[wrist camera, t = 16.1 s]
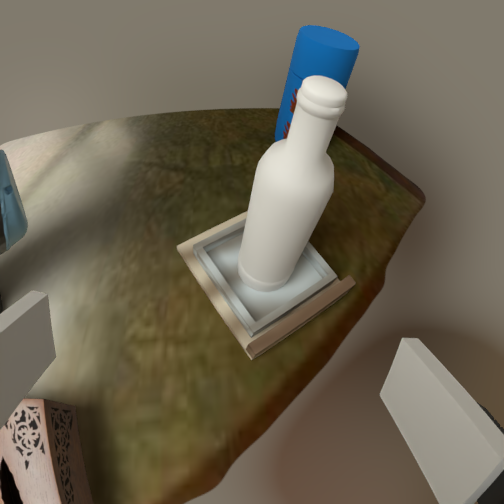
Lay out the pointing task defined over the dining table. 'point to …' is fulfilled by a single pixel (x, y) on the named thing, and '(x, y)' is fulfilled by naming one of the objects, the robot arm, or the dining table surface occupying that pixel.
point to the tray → (254, 302)
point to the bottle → (291, 188)
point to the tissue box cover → (42, 456)
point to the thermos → (315, 66)
